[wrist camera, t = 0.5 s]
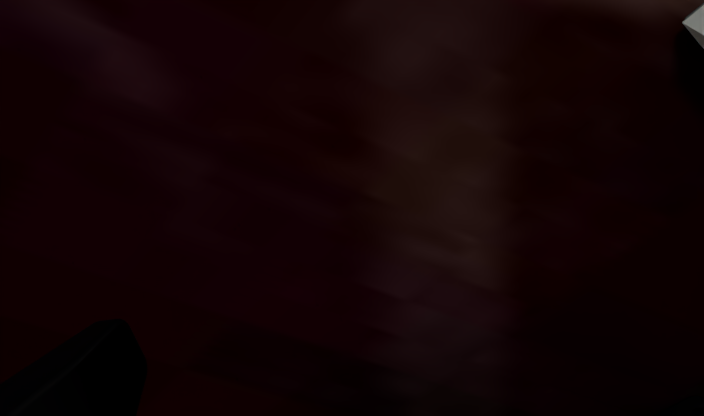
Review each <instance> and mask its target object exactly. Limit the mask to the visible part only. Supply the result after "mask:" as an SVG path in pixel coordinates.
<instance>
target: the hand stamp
mask: <svg viewBox="0 0 704 416" xmlns="http://www.w3.org/2000/svg"><path fill="white" fill-rule="evenodd" d="M682 23H683V24H684V26H685V27H686V28H687V29H688V31H689V32H690V33H691V34H692V35H693V37H694V38H695V39H696V40H697V41H698V43H699V44H700V45H701V46H702V48H703V49H704V3H703V4H702V5H700V6H699V7H698V8H697V9H695V10H694V11H693V12H692V13H691V14H689V15H688V16H687V17H686V18H685V21H683V22H682Z"/></svg>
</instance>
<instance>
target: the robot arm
mask: <svg viewBox="0 0 704 416" xmlns="http://www.w3.org/2000/svg"><path fill="white" fill-rule="evenodd" d="M146 375H147V363H146V359H145V356H144V354H143V352H142V350H141V348H140V346H139V344H138V342H137V340H136V338H135V336H134V334H133V332H132V330H131V328H130V326H129V325H128V323H126V322H125V321H124V320H122V319H113V320H105V321H98V322H95V323H93V324H92V325H90V326H89V327H87V328H86V329H84V330H83V331H81V332H80V333H78V334H77V335H75V336H73V337H72V338H70V339H69V340H67V341H66V342H64V343H63V344H61V345H60V346H58V347H57V348H55V349H54V350H52V351H51V352H49V353H47V354H46V355H44V356H43V357H41V358H40V359H38V360H37V361H35V362H34V363H32V364H31V365H29V366H28V367H26V368H24V369H23V370H21V371H20V372H18V373H17V374H15V375H14V376H12V377H11V378H9V379H8V380H6V381H5V382H3V383H2V384H0V416H136V413H137V410H138V406H139V402H140V398H141V395H142V391H143V387H144V383H145V380H146ZM697 407H698V408H697ZM694 408H695V409H694ZM655 416H704V398H702V397H698V396H695V397H690V398H687V399H686V400H684V401H682V402H680V403H678V404H676V405H674V406H672V407H670V408H668V409H666V410H665V411H663V412H661V413H659V414H657V415H655Z"/></svg>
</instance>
